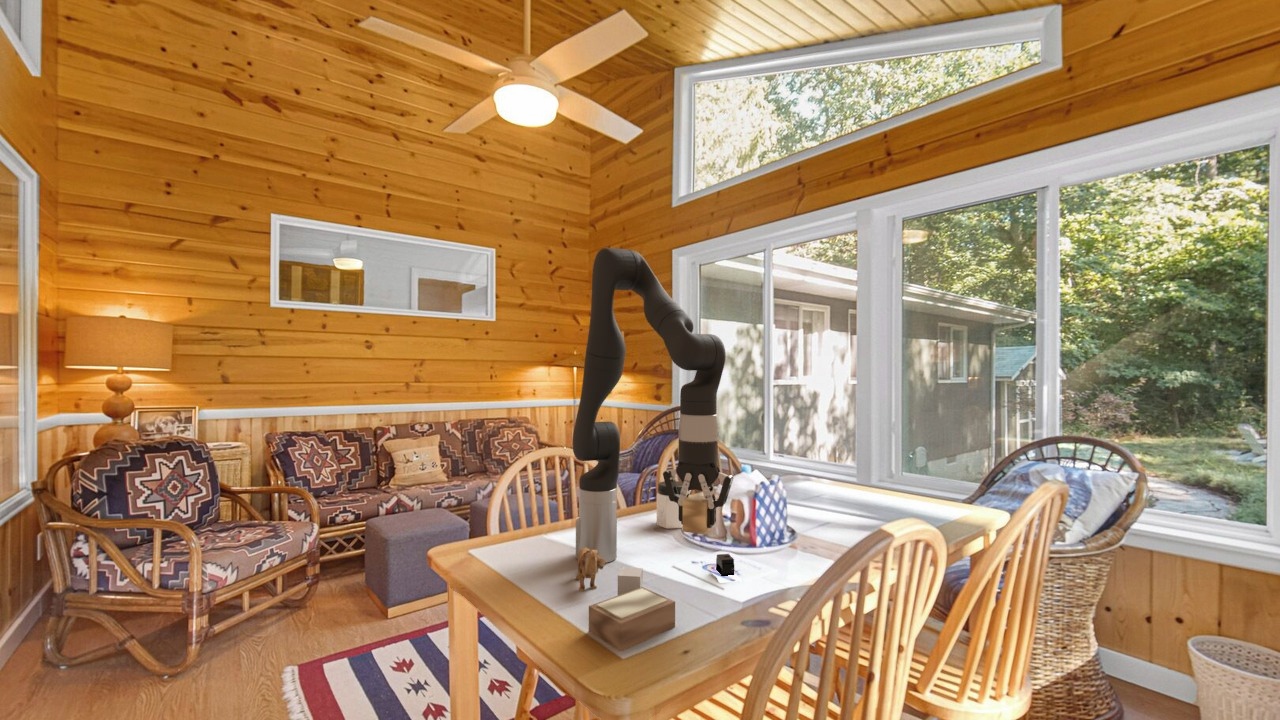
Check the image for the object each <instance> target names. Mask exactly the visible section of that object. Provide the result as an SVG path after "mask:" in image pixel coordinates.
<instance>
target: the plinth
mask: <svg viewBox="0 0 1280 720" xmlns="http://www.w3.org/2000/svg"><path fill="white" fill-rule="evenodd" d="M675 628H676V601H675V600H672V599H671V598H668V597H665V596H663V595H661V594H658V593H657V592H655V591H652V590H650V589H647V588H645V587H641V588H638V589H635V590H632V591H630V592H627V593H624V594H621V595H618V594H617V595H615V596H614V597H610V598H608V599H605V600H602V601H599V602H595V603H593V604H591V605H588V633H589V634H590V635H592V636H595V637H596V638H598V639H599V640H601V641H602V642H604V643H606V644H607V645H609V646H611V647H613V648H615V649H616V650H618V651H619V652H623V651H625V650H627V649H629V648H631V647H634V646H637V645H639V644H640V643H643V642H645V641H647V640H650V639H652V638H654V637H656V636H658V635H661V634H663V633H665V632H667V631H670V630H672V629H675Z"/></svg>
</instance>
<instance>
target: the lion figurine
mask: <svg viewBox="0 0 1280 720" xmlns="http://www.w3.org/2000/svg"><path fill="white" fill-rule="evenodd" d="M605 565H606V561H605V560H603V559H602V558H601V556H599V555H598V551H597V550H590V549H588V548H583V549H581V550H580V552H579V555H578V559H577V574H576V576H575V578H574V579H575V580H576V581H579V588H578V591H579V592H585V591H586V586H585V578H586V579H589V580H590V582H589V587H590V589H592V590H596V589H597V587H598V586H597V585H595V580H596V575H597V574H598V573H599V569H600V570H604V567H605Z"/></svg>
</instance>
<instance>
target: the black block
mask: <svg viewBox="0 0 1280 720" xmlns="http://www.w3.org/2000/svg"><path fill="white" fill-rule="evenodd" d="M715 561H716V562H715V563H716V564H715V567H716V570H717V571H718V572H719V573H720V574H721V576H728V575H734V571H735V559H734V558H733V557H732V556H731V555H730V553H723V554H722V553H721V554H720V553H718V554H716V559H715Z"/></svg>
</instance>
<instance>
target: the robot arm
mask: <svg viewBox="0 0 1280 720" xmlns="http://www.w3.org/2000/svg"><path fill="white" fill-rule="evenodd" d="M591 275H592V277H591V278H592V279H591V299H590V300H591V305H590V318H589V326H588V327H589V328H588V334H587V335H588V336H587V341H586V342H587V343H586V348H585V355H584V356H585V357H584V363H583V364H584V365H583V366H584V367H583V375H582V377H583V378H582V385H581V392H580V397H579V404H578V409H577V414H576V417H575V422H574V428H573V433H572V452H573V455H574V457H575V458H576V460H578V461H581V462H590V461H592V462H593V461H598V462H597V464H596V465H595V466H594V467H592V468H591V469H590V470H588V471H586V472H584V473H582V474H581V475H580V476H579V481H578V487H579V490H578V495H579V496H578V497H579V498H578V499H579V501H578V512H579V514H578V516H579V517H578V518H576V520H575V559H577V560H578V555H579V552H580V550H581V549H583V548H588V549H590V550H597V551H598V555H599V556H601V558H602V559H603V560H605V561H606V563H610V562H612V561H614V560H616V559H617V557H618V556H617V555H618V554H617V551H618V550H617V549H618V548H617V546H618V545H617V542H618V540H617V539H618V537H617V534H618V530H617V529H618V524H617V522H618V516H617V515H618V504H617V503H618V500H617V499H618V488H617V487H618V480H619V475H620V474H619V473H620V472H619V471H620V454H621V435H620V431H619V427H618V426H617V424H616V423H615V422H613V421H596V420H597V416H598V413H599V411H600V408H601V406H602V405H603V403H604V402H605V400H606V399H607V398H608V397H609V395H610V394H611V393H612V392H613V390H614V389H615V388H616V386H617V384H618V383H619V381H620V379H621V378H622V375H623V371H624V367H625V358H626V352H627V346H626V342H625V339H624V337H623V334H622V332H621V330H620V328H619V324H618V323H617V320H616V317H615V313H614V296H615V291H632V292H633V293H636V294H637V295H638V296H639V297H640V298H641V299H642V300H643V313H644V316H645V319H646V322H647V323H648V324H649V326H651V328H652V329H653V330H654V332H656V333H657V335H658V336H659V337H660V338H661V339H662V340H663V343H664V346H665V348H666V350H667V352H668V354H669V357H670V359H671V360H672V362H673V363H674V364H675V365H676V366H677V367H678V368H680V369H682V370H684V371H688V372H689V371H690V372H691V371H696V373H695V375H694V378H693V380H692V381H690V382H687V383H685V384H683V385H682V386H681V388H680V395H679V396H680V397H679V398H680V399H679V401H680V402H679V405H680V406H679V410H680V411H679V421H678V451H677V452H678V455H677V456H678V458H677V459H678V464H677V466H676V468H673V469H671V468H669V469H666V470H665V471H663V472H662V476H663V482H664V481H665V485H666V488H667V492H668V496H669V500H670V501H674V502H676V503H677V504H678V506H679V521H681V524H682V525H683V500H684V499H686V497H688V496H689V495H691V491H699V492H702V493H703V496H704V497H705V498H706V501H707V505H708V509H707V528H711V529H712V527H714V526H715V524H716V522H717V508H721V507H723V506H724V505H725V504H726V503H727V500H728V499H729V498H728V497H729V494H730V492H731V487H732V484H733V481H734V476H733V475H732V474H726V473H723V472H721V471H720V468H719V465H718V455H719V454H718V451H719V450H718V447H719V445H718V444H719V442H718V441H719V440H718V438H719V431H718V430H719V427H718V424H719V423H718V418H717V417H718V416H717V407H718V406H717V403H718V402H717V400H718V397H717V395H718V389H719V387H720V384H721V380H722V376H723V372H724V368H725V363H726V354H727V353H726V348H725V345H724V343H723V341H722V339H721V338H720V337H719V336H717V335H716V334H711V333H693V331H694V323H693V322H694V321H693V320H692V318H691V317H690V316H689V314H687V313H686V311H684V309H682V308H681V306H680V305H678V303H677V302H675V301H674V299H673V298H672V297H671V296H670V295H669V294H668V292H667V291H666V290H665V288H664V286H662V283H660V280H659V279H658V277H657V276H656V275H655V273H654V272H653V270H652V268H651V266H650V265H649V263H648V262H647V260H646V259H645V258H644V257H643V255H642V254H640V253H639V252H638V251H636V250H633V249H624V248H614V247H603V248H601V249H599V250H598V252H597V253H596V255H595V257H594V261H593V266H592V274H591ZM677 476H678V478H679V479H680V482H683V486H682V489H681V492H680V495H679V494H678V490H677V487H676V483H675V481H676V479H677ZM717 479H719V484H720V486H721V489H720V492H719V495H718V498H717V497H716V494H715V492H716V491H715V488H714V487H715V486H714V483H715V482H716V480H717ZM606 563H605V564H606Z"/></svg>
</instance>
